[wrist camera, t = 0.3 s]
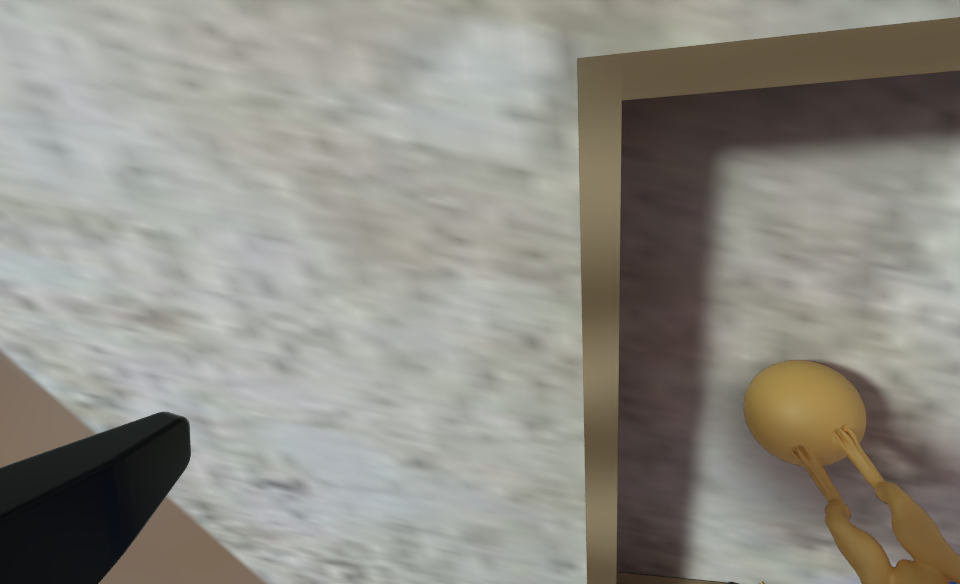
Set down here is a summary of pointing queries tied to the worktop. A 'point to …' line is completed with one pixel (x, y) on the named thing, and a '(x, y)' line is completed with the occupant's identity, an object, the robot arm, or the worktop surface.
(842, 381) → the figurine
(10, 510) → the robot arm
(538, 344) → the worktop surface
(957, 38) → the three-sided wooden wall
